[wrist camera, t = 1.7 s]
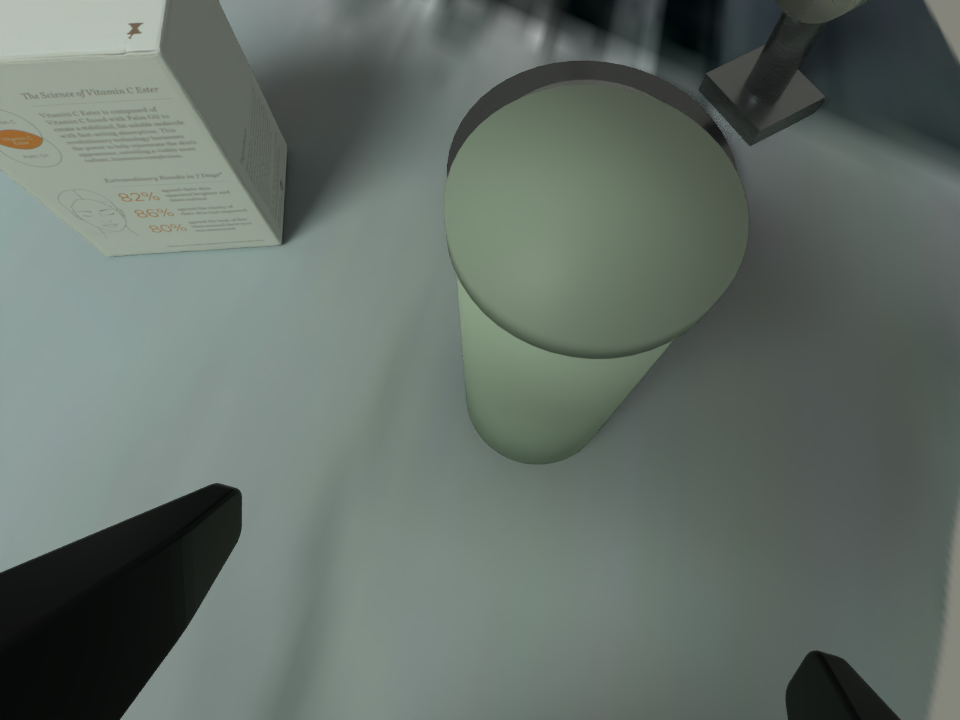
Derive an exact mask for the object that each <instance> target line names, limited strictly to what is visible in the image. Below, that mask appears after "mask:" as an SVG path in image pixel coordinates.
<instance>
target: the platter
mask: <svg viewBox="0 0 960 720" xmlns="http://www.w3.org/2000/svg"><path fill="white" fill-rule="evenodd" d="M573 85H597V86H609V87H615V88H620V89H626V90H630V91H633V92H637V93H640V94H644V95H647V96H649V97H652V98H654V99H657V100H659V101H662V102H664V103H666V104H668V105H669V106H671V107H673V108H675V109H677V110H679V111H680V112H682V113H683V114H685V115H686V116H688V117H689V118H691V119H692V120H694V121H695V122H696V123H697V124H698V125H700V126H701V127H702V128H703V129H704V130H705V131H707V132H708V133H709V134H710V135H711V136H712V138H713V139H714V140H715V141H716V142H717V143H718V144H719V145H720V146H721V148H722V149H723V150H724V152H725V153H726V155H727V156H728V157H729V159H730V160H731V162H732V164H733V166H734V168H735V170H736V166H735V161H734V158H733V156H732V153H731V150H730V148H729V145H728V143H727V141H726V139H725V138H724V136H723V134H722V132H721V130H720V129H719V128H718V126H717V125H716V124H715V122H714V121H713V119H712V118H711V117H710V116H709V115H708V114H707V113H706V112H705V111H704V109H703V108H702V107H701V106H700V105H699V104H697V103H696V102H695V101H694V100H693V99H691V98H690V97H689V96H688V95H687V94H685V93H684V92H682V91H681V90H679V89H678V88H676V87H675V86H673V85H672V84H670V83H668V82H666V81H664V80H662V79H660V78H658V77H656V76H654V75H651V74H649V73H646V72H644V71H641V70H638V69H634V68H631V67H627V66H624V65H619V64H613V63H608V62H597V61H568V62H560V63H553V64H548V65H544V66H539V67H536V68H533V69H530V70H527V71H524V72H521V73H519V74H517V75H515V76H513V77H511V78H509V79H507V80H505V81H503V82H502V83H500V84H499V85H497V86H495V87H494V88H492V89H491V90H490V91H489V92H488V93H486V94H485V95H484V96H483V97H481V98H480V99H479V100H478V102H477V103H476V104H475V105H474V106H473V107H472V108H471V109H470V110H469V112H468V113H467V115H466V116H465V117H464V119H463V120H462V122H461V123H460V126H459V128H458V130H457V132H456V134H455V136H454V138H453V141H452V145H451V148H450V151H449V157H448V164H447V178H448V175H449V172H450V169H451V166H452V163H453V161H454V159H455V157H456V155H457V153H458V151H459V150H460V148H461V147H462V145H463V144H464V142H465V141H466V139H467V138H468V137H469V136H470V134H471V133H472V132H473V131H474V130H475V129H476V128H477V127H478V126H479V125H480V124H481V123H482V122H483V121H484V120H486V119H487V118H488V117H489V116H490V115H492V114H493V113H495V112H496V111H498V110H499V109H501V108H502V107H504V106H506V105H507V104H509V103H511V102H513V101H516V100H518V99H520V98H522V97H525V96H527V95H530V94H533V93H536V92H539V91H543V90H548V89H552V88H557V87H565V86H573Z"/></svg>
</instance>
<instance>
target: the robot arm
mask: <svg viewBox="0 0 960 720" xmlns="http://www.w3.org/2000/svg"><path fill="white" fill-rule="evenodd" d="M241 528H242V494H241V492H240V490H239V489H237V488H234V487H231V486H227V485H223V484H220V483H215V484H211V485H209V486H206V487H204V488H201V489H199V490H197V491H194V492H192V493H189V494H187V495H185V496H182V497H180V498H177V499H175V500H173V501H170V502H168V503H166V504H163V505H161V506H158V507H156V508H154V509H151V510H149V511H146V512H144V513H142V514H139V515H137V516H135V517H132V518H130V519H127V520H125V521H123V522H120V523H118V524H115V525H113V526H111V527H108V528H106V529H103V530H101V531H99V532H96V533H94V534H92V535H89V536H87V537H84V538H82V539H80V540H77V541H75V542H72V543H70V544H68V545H65V546H63V547H61V548H58V549H56V550H53V551H51V552H49V553H46V554H44V555H41V556H39V557H37V558H34V559H32V560H29V561H27V562H25V563H22V564H20V565H18V566H15V567H13V568H10V569H8V570H6V571H3V572H1V573H0V720H120V719H121V717H122V716H123V715H124V713H125V712H126V711H127V709H128V708H129V707H130V705H131V704H132V702H133V701H134V700H135V698H136V697H137V696H138V694H139V693H140V691H141V690H142V689H143V687H144V686H145V685H146V683H147V682H148V681H149V679H150V678H151V676H152V675H153V674H154V672H155V671H156V670H157V668H158V667H159V665H160V664H161V663H162V661H163V660H164V659H165V657H166V656H167V655H168V653H169V652H170V650H171V649H172V648H173V646H174V645H175V644H176V642H177V641H178V639H179V638H180V637H181V635H182V634H183V632H184V631H185V629H186V628H187V626H188V625H189V623H190V621H191V620H192V618H193V617H194V615H195V613H196V612H197V610H198V608H199V607H200V605H201V603H202V601H203V600H204V598H205V596H206V595H207V593H208V591H209V590H210V588H211V586H212V584H213V583H214V581H215V579H216V578H217V576H218V574H219V572H220V571H221V569H222V567H223V566H224V564H225V562H226V561H227V559H228V557H229V555H230V554H231V552H232V550H233V549H234V547H235V545H236V543H237V542H238V539H239V537H240V534H241ZM786 708H787V716H788V720H901V719H900V718H899V717H898V716H897V715H896V714H895V713H894V712H893V711H892V710H891V709H890V708H889V707H888V705H887V704H886V703H885V702H884V701H883V700H882V699H881V698H880V697H879V696H878V695H877V694H876V693H875V692H874V691H873V689H872V688H871V687H870V686H869V685H868V684H867V683H866V682H865V681H864V680H863V679H862V678H861V677H860V676H859V674H858V673H857V672H856V671H855V670H854V669H853V668H852V667H851V666H850V665H849V664H848V663H847V662H846V661H845V660H844V659H842V658H840V657H838V656H835V655H831V654H828V653H824V652H821V651H811V652H809V653H808V654H807V655H806V657H805V658H804V660H803V661H802V663H801V665H800V666H799V668H798V669H797V671H796V673H795V674H794V676H793V677H792V679H791V680H790V682H789V684H788V687H787V690H786Z"/></svg>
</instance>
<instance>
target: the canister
mask: <svg viewBox="0 0 960 720" xmlns="http://www.w3.org/2000/svg"><path fill="white" fill-rule="evenodd" d="M444 217H445V227H446V237H447V244H448V250H449V255H450V258H451V261H452V264H453V267H454V270H455V272H456V274H457V285H458V298H459V311H460V324H461V337H462V350H463V363H464V375H465V388H466V401H467V408H468V412H469V416H470V419H471V421H472V423H473V425H474V427H475V429H476V431H477V432H478V434H479V435H480V436H481V438H482V439H483V440H484V441H485V442H486V443H487V444H488V445H489V446H490V447H491V448H492V449H494V450H495V451H497V452H498V453H499V454H501V455H503V456H505V457H507V458H509V459H512V460H514V461H518V462H522V463H526V464H549V463H554V462H558V461H561V460H564V459H566V458H568V457H570V456H572V455H574V454H575V453H577V452H579V451H580V450H581V449H582V448H583V447H584V446H586V445H587V443H588V442H589V441H590V440H591V439H592V438H593V437H594V435H595V434H596V433H597V432H598V431H599V429H600V428H601V427H602V426H603V425H604V423H605V422H606V421H607V420H608V419H609V417H610V416H611V415H612V414H613V413H614V411H615V410H616V409H617V408H618V406H619V405H620V404H621V403H622V402H623V400H624V399H625V398H626V397H627V396H628V394H629V393H630V392H631V391H632V390H633V388H634V387H635V386H636V385H637V384H638V382H639V381H640V380H641V379H642V378H643V376H644V375H645V374H646V373H647V372H648V370H649V369H650V368H651V367H652V366H653V364H654V363H655V362H656V361H657V360H658V358H659V357H660V356H661V355H662V354H663V352H664V351H665V350H666V349H667V347H668V346H669V345H670V344H671V343H672V341H673V340H674V339H675V338H677V337H679V336H680V335H682V334H684V333H685V332H686V331H688V330H689V329H690V328H691V327H692V326H694V325H695V324H696V323H697V322H698V321H699V320H700V319H701V318H702V317H703V316H704V315H705V314H706V312H707V311H708V310H709V309H710V308H711V307H712V306H713V305H714V303H715V302H716V301H717V300H718V299H719V298H720V297H721V295H722V294H723V293H724V292H725V291H726V290H727V288H728V286H729V285H730V283H731V282H732V280H733V279H734V277H735V276H736V274H737V272H738V269H739V267H740V265H741V263H742V260H743V258H744V254H745V250H746V246H747V242H748V232H749V213H748V205H747V200H746V196H745V191H744V188H743V186H742V183H741V180H740V178H739V175H738V173H737V171H736V170H735V168H734V166H733V164H732V162H731V160H730V159H729V157H728V156H727V155H726V153H725V152H724V150H723V149H722V148H721V146H720V145H719V144H718V143H717V142H716V141H715V140H714V139H713V138H712V136H711V135H710V134H709V133H708V132H707V131H705V130H704V129H703V128H702V127H701V126H700V125H698V124H697V123H696V122H695V121H694V120H692V119H691V118H689V117H688V116H686V115H685V114H683V113H682V112H680V111H679V110H677V109H675V108H673V107H671V106H669V105H668V104H666V103H664V102H662V101H659V100H657V99H654V98H652V97H649V96H647V95H644V94H640V93H637V92H633V91H630V90H626V89H620V88H615V87H609V86H597V85H573V86H565V87H557V88H552V89H548V90H543V91H539V92H536V93H533V94H530V95H527V96H525V97H522V98H520V99H518V100H516V101H513V102H511V103H509V104H507V105H506V106H504V107H502V108H501V109H499V110H498V111H496V112H495V113H493V114H492V115H490V116H489V117H488V118H487V119H486V120H484V121H483V122H482V123H481V124H480V125H479V126H478V127H477V128H476V129H475V130H474V131H473V132H472V133H471V134H470V136H469V137H468V138H467V139H466V141H465V142H464V144H463V145H462V147H461V148H460V150H459V151H458V153H457V155H456V157H455V159H454V161H453V163H452V166H451V169H450V172H449V175H448V178H447V182H446V188H445V195H444Z"/></svg>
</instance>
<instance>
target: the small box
mask: <svg viewBox="0 0 960 720" xmlns="http://www.w3.org/2000/svg"><path fill="white" fill-rule="evenodd" d="M286 162H287V144H286V142H285V140H284V138H283V136H282V134H281V132H280V130H279V127H278V125H277V123H276V121H275V119H274V117H273V114H272V112H271V110H270V108H269V106H268V104H267V102H266V100H265V98H264V96H263V93H262V91H261V89H260V87H259V85H258V83H257V81H256V79H255V77H254V75H253V72H252V70H251V68H250V66H249V64H248V62H247V60H246V57H245V55H244V53H243V51H242V49H241V47H240V45H239V43H238V41H237V39H236V37H235V35H234V32H233V30H232V28H231V26H230V24H229V22H228V20H227V18H226V16H225V14H224V11H223V9H222V7H221V5H220V3H219V0H0V170H1V171H2V172H4V173H5V174H6V175H7V176H8V177H10V178H11V179H12V180H13V181H15V182H16V183H17V184H18V185H20V186H21V187H22V188H23V189H24V190H25V191H27V192H28V193H29V194H30V195H31V196H33V197H34V198H35V199H36V200H38V201H39V202H40V203H41V204H42V205H44V206H45V207H46V208H48V209H49V210H50V211H51V212H52V213H54V214H55V215H56V216H57V217H58V218H60V219H61V220H62V221H63V222H64V223H66V224H67V225H68V226H69V227H70V228H72V229H73V230H74V231H75V232H77V233H78V234H79V235H80V236H82V237H83V238H84V239H85V240H86V241H87V242H89V243H90V244H91V245H92V246H94V247H95V248H96V249H97V250H98V251H100V252H101V253H102V254H103V255H105V256H108V257H111V256H124V255H138V254H153V253H170V252H183V251H199V250H216V249H229V248H243V247H258V246H274V245H281V244H282V231H283V214H284V197H285V180H286Z"/></svg>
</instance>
